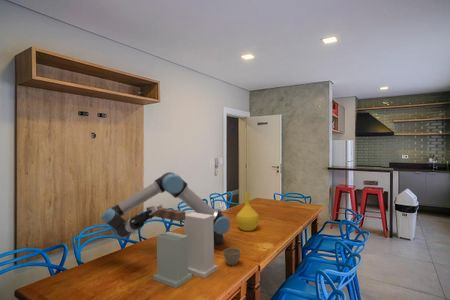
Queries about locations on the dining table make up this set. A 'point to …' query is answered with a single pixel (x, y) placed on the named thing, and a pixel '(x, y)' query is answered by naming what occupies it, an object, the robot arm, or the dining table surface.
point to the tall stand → (200, 244)
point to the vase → (247, 217)
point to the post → (172, 259)
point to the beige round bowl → (232, 255)
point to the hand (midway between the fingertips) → (159, 207)
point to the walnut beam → (168, 214)
